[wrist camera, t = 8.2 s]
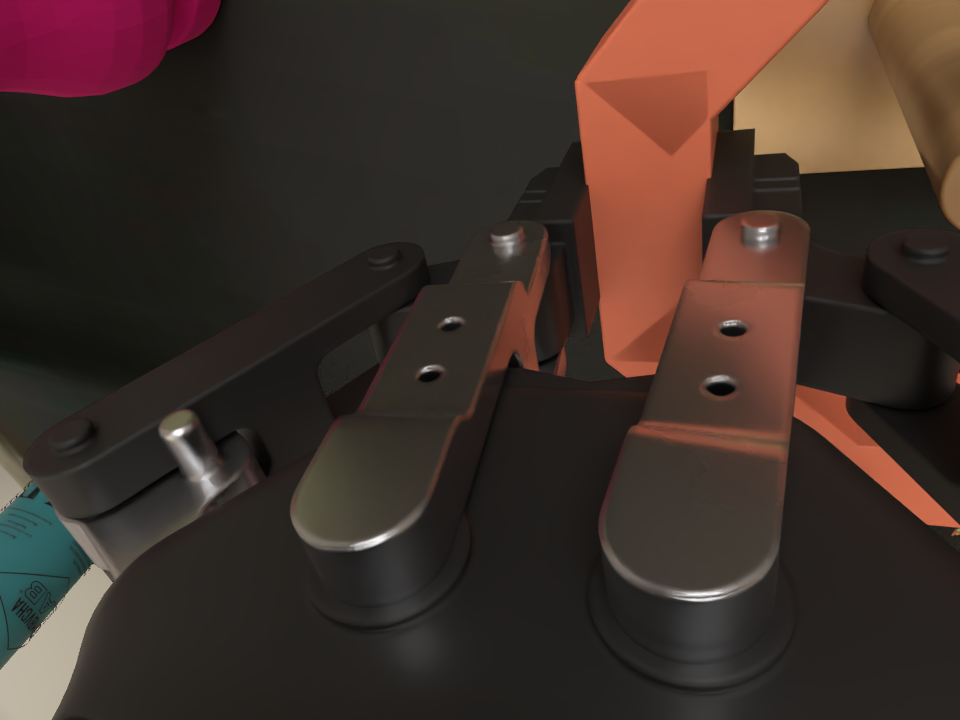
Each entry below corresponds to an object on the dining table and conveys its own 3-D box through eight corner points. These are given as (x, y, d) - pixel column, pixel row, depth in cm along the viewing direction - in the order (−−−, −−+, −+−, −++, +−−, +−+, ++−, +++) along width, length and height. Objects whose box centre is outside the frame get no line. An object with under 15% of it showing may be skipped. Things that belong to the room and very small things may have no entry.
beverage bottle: (107, 493, 53) (-145, 771, 38) (57, 427, 49) (-243, 707, 35) (175, 500, 51) (-67, 798, 36) (128, 431, 47) (-163, 733, 32)
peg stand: (739, -155, 20) (716, -89, 10) (1156, -241, 16) (1659, -259, 7) (734, 160, 25) (715, 390, 16) (1049, 140, 22) (1262, 414, 12)
